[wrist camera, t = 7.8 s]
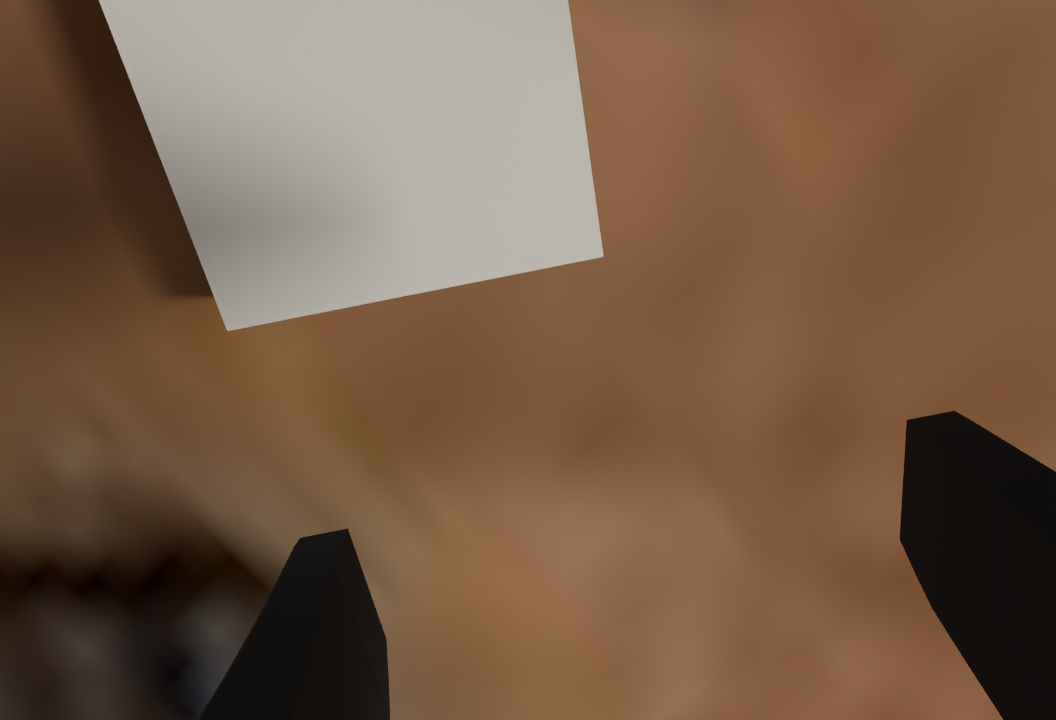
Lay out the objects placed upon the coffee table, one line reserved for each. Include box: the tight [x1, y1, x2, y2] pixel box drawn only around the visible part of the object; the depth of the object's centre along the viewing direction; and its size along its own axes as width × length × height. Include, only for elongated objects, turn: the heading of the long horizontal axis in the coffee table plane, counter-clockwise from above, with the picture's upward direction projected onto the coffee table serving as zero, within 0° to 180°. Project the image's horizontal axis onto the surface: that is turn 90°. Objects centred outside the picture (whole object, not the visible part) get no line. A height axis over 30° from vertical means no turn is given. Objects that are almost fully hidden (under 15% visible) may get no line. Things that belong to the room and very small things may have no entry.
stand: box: [99, 0, 603, 331], centre depth 19 cm, size 8×8×2 cm
